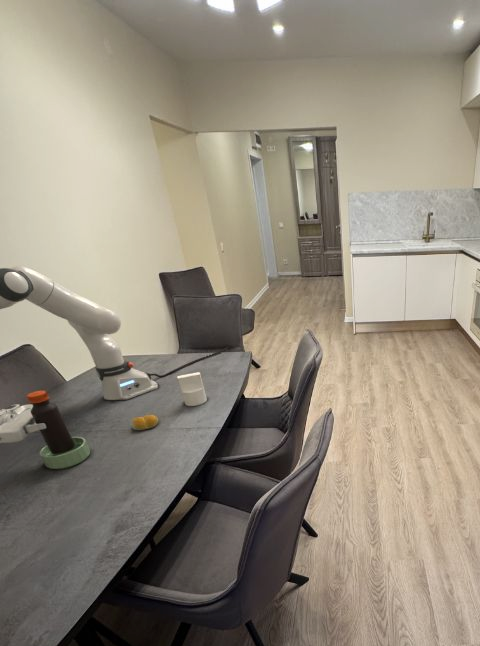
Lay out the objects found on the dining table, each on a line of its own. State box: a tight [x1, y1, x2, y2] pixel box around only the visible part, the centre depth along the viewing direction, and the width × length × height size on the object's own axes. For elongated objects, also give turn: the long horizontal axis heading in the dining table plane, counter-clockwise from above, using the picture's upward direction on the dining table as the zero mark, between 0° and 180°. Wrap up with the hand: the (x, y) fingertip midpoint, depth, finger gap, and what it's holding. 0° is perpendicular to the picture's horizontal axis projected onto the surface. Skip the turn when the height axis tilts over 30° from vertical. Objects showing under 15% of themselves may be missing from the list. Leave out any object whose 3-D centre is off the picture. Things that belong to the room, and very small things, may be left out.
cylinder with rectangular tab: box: [176, 371, 208, 407], centre depth 165 cm, size 9×9×12 cm
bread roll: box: [131, 414, 159, 431], centre depth 149 cm, size 8×9×4 cm
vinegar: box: [26, 390, 75, 454], centre depth 124 cm, size 7×7×20 cm
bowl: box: [39, 436, 91, 470], centre depth 130 cm, size 13×13×5 cm
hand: (52, 419), depth 123 cm, fingers closed on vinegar, 7 cm apart
